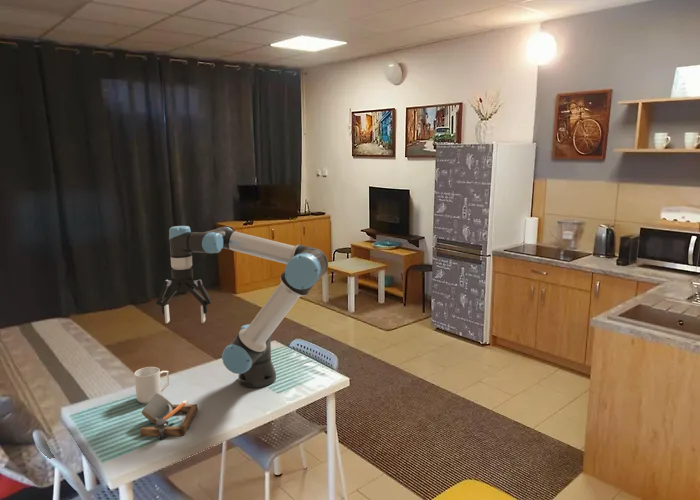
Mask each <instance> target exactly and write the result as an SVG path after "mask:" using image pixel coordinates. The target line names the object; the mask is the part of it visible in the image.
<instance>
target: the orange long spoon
mask: <svg viewBox="0 0 700 500" xmlns="http://www.w3.org/2000/svg"><path fill="white" fill-rule="evenodd" d="M186 404H189V400H188V399H184V400H183V401H182V402H181V403H180V404H178V405H179V406H178V407H176V408H175V409H174V410H173V411H171V412H170V413H169V414H168V415H166V416H165V417H164V418H163V419H159V420H157V421H156V425H157V426H162V425H165V424H166V421H168V420H169V419H170V418H171V417H172V416H174V415H175V414H177V413H176V412H177V411H178V410H179V409H181V408H182V407H183V406H184V405H186Z"/></svg>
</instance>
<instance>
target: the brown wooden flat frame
mask: <svg viewBox="0 0 700 500" xmlns="http://www.w3.org/2000/svg"><path fill="white" fill-rule="evenodd" d="M172 405H173V406H174V408H173V409H172V411H173V410H174V409H175V408H176V407H178V406H179V405H180V404H172ZM198 412H199V411H198V404H197V403H196V404H192V403H191V404H189V403H187V404H186V405H184V406H183V407H182V408H181V409H179V410H178V411H177V412H176V413H175V414H186V416H185V418H184V419H183V420H182V423H181V424H180V426H177V425H176V426H166V427H164V428H165V437H181V436H182V437H184V436H185V434H186V433H187V430H188V429H189V427H190V425H191V424H192V422H193V420H194V418H195V417H196V415H197V413H198ZM139 434H140V437H159V429H158V428H155V427H154V426H141V428H140V429H139Z"/></svg>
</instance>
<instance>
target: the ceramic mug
mask: <svg viewBox="0 0 700 500" xmlns="http://www.w3.org/2000/svg"><path fill="white" fill-rule="evenodd" d="M173 405H174V404H172V403H171V402H170V401H169V399H167V398H166V397H165V396H164V395H162V394H161V395H160V394H159V393H156V394H155V395H154V397H153V398H152V399H151V400H150V402H149V403H146V405H145V406H144V407H143V409H142V411H141V415H143V416H144V418H146V419H147V420H148V421H150V422H151V423H152V424H153V425H154V424H155V423H156V421H157V420H159V419H163V418H164V417H165V416H166V415H168V414H169V413H170V412H171V411H172V409H173V408H174V406H173Z"/></svg>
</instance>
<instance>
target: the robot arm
mask: <svg viewBox="0 0 700 500" xmlns="http://www.w3.org/2000/svg"><path fill="white" fill-rule="evenodd" d="M168 233H169V235H168V241H169V249H170V266H171V267H170V268H172V269H171V280H169V279H166V280H163V284H162V285H163V286H162V289H161V292H160V293H159V296H158V298H157V300H156V302H155V304H156V305H157V306H161V313H162V315H164V321H165V324H168V323H169V322H170V321H171V317H170V307H169V306H170V305H169V304H168V303H169V301H170V300H171V299H172V297H174V295H175V294H176V293H177V292H178V293H188V292H189V293H190V294H192V295H193V296H194V298H195V299H196V300H197V301H198V302H199V303H200V304H201V305H200V317H201V324H205V322H206V320H207V319H206V314H208V311H209V310H208V305H210V304H212V302H213V300H212V298H211V296H210V295H209V293H208V291H207V289H206V288H205V286H204V284H203V280H202V279H201V278H200V279H197V280H195V279H194V269H193V267H192V266H193V254H192V253H201V254H204V253H205V254H218V253H220V252H221V251H222V249H225V250H230V251H234V252H238V253H240V254H241V253H242V254H245V255H249V256H254V257H257V258H261V259H264V260H268V261H273V262H277V263H281V264H284V265H285V267H284V270H283V272H282V273H281V275H280V277H279V278H280V283H279V284H278V286H277V287H276V288H275V289H274V291H273V293H272V294H271V295H270V297H269V298H268V299H267V300H266V302H265V303H264V305H263V306H262V307H261V309H260V310H259V312H257V314H256V315H255V317H254V318H253V320H252V321H251V322H250V323H249V324H244V325H242V326H241V327H240V330H239V332H238V333H237V334H236V336H235V337H234V338H233V340H232V341H231V342H230V343H229V344H228V345H226V347H224V349H223V351H222V353H221V360H222V364H223V365H224V367H225V369H227V370H228V371H229V372H231V373H233V374H237V375H238V383H239V384H240V385H241V386H242V387H246V388H261V387H266V386H270V385H271V384H273V383H274V382H275V381H276V380H277V372H276V369H275V367H274V364H273V361H272V341H271V338H272V337H271V336H272V334H273V333H274V332H275V330H276V329H277V328H278V326H279V325H280V324H281V322H282V321H283V320H284V318H285V317H286V315H287V314H289V311H291V309H292V308H293V307H294V305H296V303H297V301H298V300H299V299H300V297H306V296H308V294H309V292H311V290H312V289H313V287H314V286H315V284H317V282H318V281H319V280H320V279H321V278H322V277H324V275H325V274H326V273H327V271H328V268H329V260H328V257H327V255H326V254H325V252H324V251H322V250H321V249H319V248H316V247H313V246H307V245H303V244H297V245H292V244H288V243H284V242H279V241H276V240H271V239H269V238H265V237H264V238H263V237H260V236H255V235H251V234H249V233H248V234H246V233H243V232H239V231H235V230H233V229H232V228H231V227H229V226H221V227H218V228H215V229H212V230H207V231H204V232H203V231H202V232H201V231H200V232H199V231H197V232H196V231H195V232H194V231H191V227H190V226H189V225H177V226H176V225H175V226H171V227H170V228H169V229H168ZM194 285H196V287H197V288H198V289H199V291H200V293H199V291H198V290H197V289H196V288H195V287H194ZM170 286H172V287H173V289H172V290H171V291H170V293H169V294H168V295H167V296H166V298H165V299H164V297H165V295H166V294H167V293H166V292H167V290H168V288H169V287H170Z"/></svg>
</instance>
